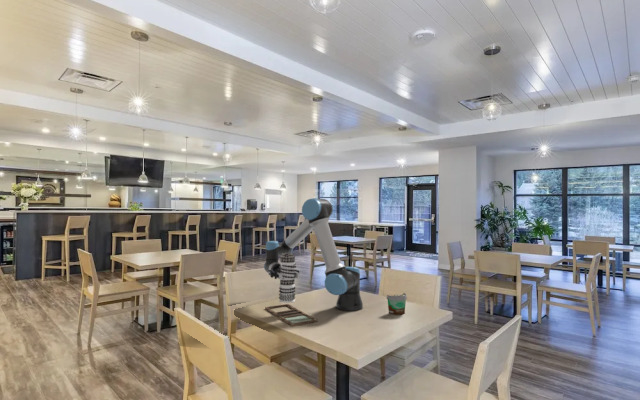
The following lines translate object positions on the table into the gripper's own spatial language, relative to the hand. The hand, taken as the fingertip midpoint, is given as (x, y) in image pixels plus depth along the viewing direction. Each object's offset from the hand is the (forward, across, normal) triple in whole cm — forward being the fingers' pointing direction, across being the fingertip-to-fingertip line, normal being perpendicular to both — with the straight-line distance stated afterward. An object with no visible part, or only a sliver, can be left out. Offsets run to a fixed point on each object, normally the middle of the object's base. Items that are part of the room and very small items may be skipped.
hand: (290, 276), depth 183 cm
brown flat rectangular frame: (-4, -1, -21) cm, 22 cm away
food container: (+17, -56, -22) cm, 62 cm away
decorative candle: (-5, 0, -14) cm, 14 cm away
